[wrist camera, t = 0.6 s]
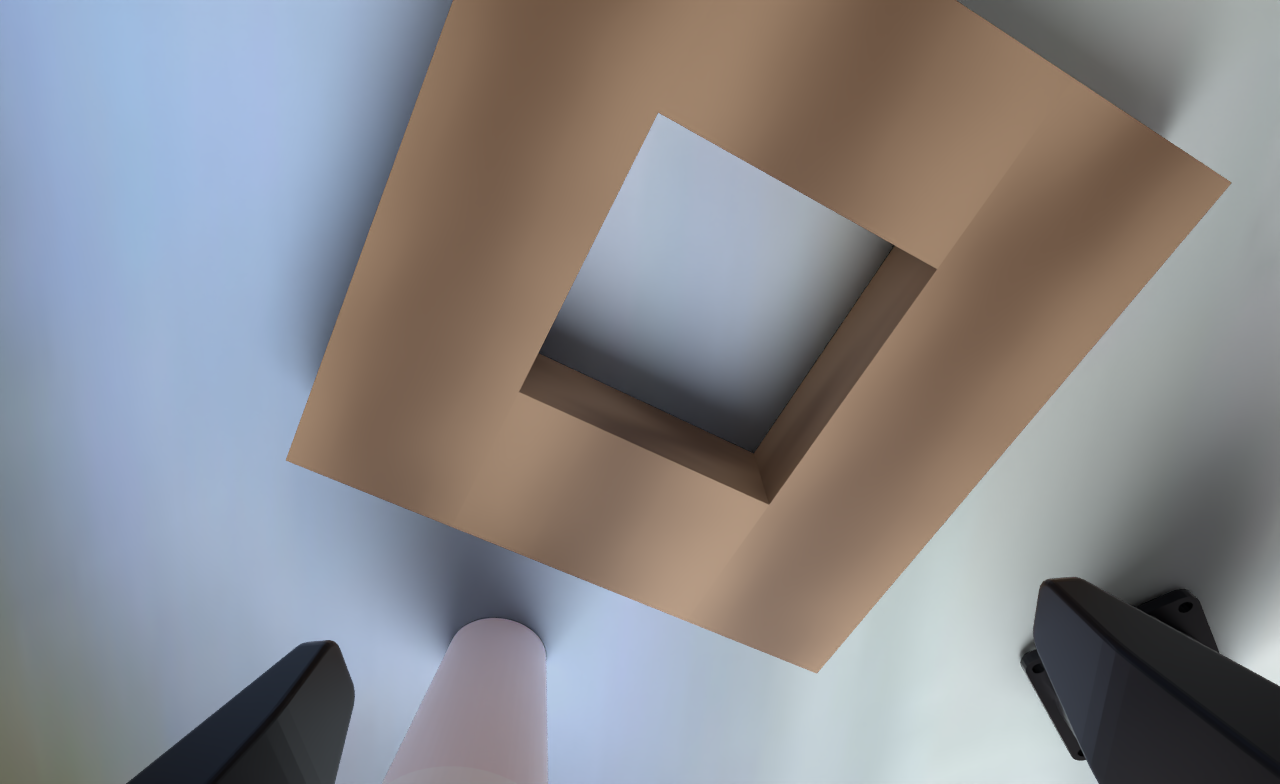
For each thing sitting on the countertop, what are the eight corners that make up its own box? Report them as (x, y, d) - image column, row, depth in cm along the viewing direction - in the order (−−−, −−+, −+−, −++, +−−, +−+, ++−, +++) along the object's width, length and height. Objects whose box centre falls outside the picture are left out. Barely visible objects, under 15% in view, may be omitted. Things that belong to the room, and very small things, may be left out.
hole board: (1150, 165, 20) (1231, 182, 17) (798, 610, 27) (817, 673, 24) (564, -216, 16) (550, -269, 14) (326, 412, 23) (285, 460, 20)
